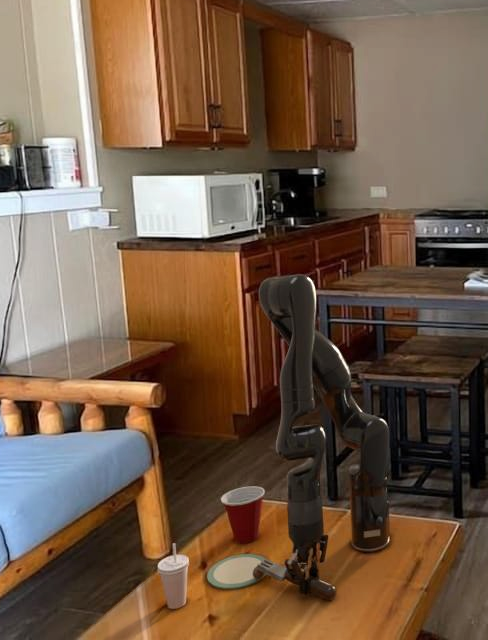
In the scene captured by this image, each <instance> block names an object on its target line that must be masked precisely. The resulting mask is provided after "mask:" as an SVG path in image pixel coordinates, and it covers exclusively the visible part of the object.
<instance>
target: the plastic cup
mask: <svg viewBox="0 0 488 640" xmlns="http://www.w3.org/2000/svg"><path fill="white" fill-rule="evenodd" d="M265 493H266V492H265V488H263V487H261V486H256V485H255V486H254V485H253V486H244V487H238V488H235V489H232V490H230V491H227V492H226V493H224V494H223V495H222V496H221V497H220V502H221V503H222V504H223V506H224V508H225V512H226V514H227V518H228V521H229V526H230V528H231V531H232V535H233V539H234V541H235V542H236V543H238V544H248V543H253V542H254V541H255V540H257V539H258V536H259V532H260V525H261V517H262V507H263V501H264V495H265Z"/></svg>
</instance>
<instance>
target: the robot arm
mask: <svg viewBox="0 0 488 640" xmlns="http://www.w3.org/2000/svg"><path fill="white" fill-rule="evenodd" d="M317 299H318V298H317V289H316V286H315V283H314V281H313V280H312V278H311V277H309V276H308V275H306V274H303V273H294V274H286V275H276V276H275V275H274V276H271V277H267V278H266V279H264V280H263V281H262V282H261V284H260V285H259V289H258V300H259V303H260V306H261V308H262V311H263V312H264V314H265V315H266V317H267V318H268V320H269V321H270V322H271V323H272V325H273V326H274V328H275V329H276V330H277V331H278V332H279V334H280V335H281V336H282V338H283V339H284V341H285V342H286V344H287V345H288V351H287V353H286V356H285V358H284V360H283V363H282V366H281V369H280V373H279V390H280V391H279V393H280V401H281V402H280V403H281V406H280V407H281V412H280V422H279V427H278V431H277V436H276V441H275V452H276V454H277V456H278V458H279V459H280V460H281V461H283V462H295V461H300V460H306V461H305V462H304V463H303V464H301V465H299V466H296V467H294V468H291V469H290V470H289V471H288V472H287V474H286V489H287V490H286V491H287V505H286V511H287V528H288V539H289V540H290V541H291V542H292V544H293V545H292V555H291V556H290V558H286V559H285V560H284V567H286V568H287V570H288V573H289V575H290V577H291V579H292V580H297V581H299V586H298V592H299V594H300V595H303V596H308V595H310V593H311V592H310V585H309V575H311V576H314V577H316V578H318V579H320V569H321V565H322V564H324V563H325V560H326V556H327V555H326V554H327V549H328V542H329V535H328V534H325V528H324V527H325V526H324V508H323V507H324V505H323V499H322V494H321V493H322V492H321V470H322V463H323V459H324V455H325V451H326V447H327V434H326V431H325V429H324V428H323V426H322V425H320V424H317V423H311V424H303V425H297V426H293V425H294V423H295V422H296V420H297V419H299V418H301V417H304V416H307V415H309V414H311V413H313V412H314V411H315V408H316V402H315V401H316V399H315V392H316V393H317V395H318V396H319V398H320V400H321V401H322V403H323V405H324V406H325V408H326V409H327V412H328V414H329V415H330V417H331V420H332V422H333V425H334V427H335V429H336V431H337V433H338V436H339V438H340V440H341V442H342V443H343V445H345V447H346V448H349V449H351V450H353V451H355V452H359V461H357V462H355V463H352V464H351V465H350V467H349V468H348V487H349V509H350V525H351V526H350V530H351V531H350V533H351V546H352V548H353V549H354V550H356V551H358V552H363V553H373V552H376V551H380V550H383V549H385V548H386V547H387V546H388V545H389V543H390V537H391V531H390V530H391V529H390V528H391V527H390V502H389V501H388V481H387V471H388V468H389V465H390V464H389V463H390V441H391V440H390V436H391V435H390V428H389V425H388V423H387V421H386V420H385V419H383V418H381V417H380V416H376V415H373V414H369V413H366V412H364V411H363V410H362V409H361V408H360V407H359V405H358V403H357V402H356V400H355V399H354V396H353V395H352V391H351V390H352V389H351V388H352V373H351V369H350V367H349V364H348V363H347V361H346V359H345V358H344V355H343V354H342V352H341V351H340V349H339V348H338V346H336V344H335V343H333V342H332V340H330V339H329V338H327V337H326V336H324V335H323V333H321V332H320V331H318V330H316V320H317V319H316V318H317V303H318V302H317ZM302 570H303V572H304V573H302V572H301V571H302Z"/></svg>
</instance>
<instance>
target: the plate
mask: <svg viewBox="0 0 488 640" xmlns="http://www.w3.org/2000/svg"><path fill="white" fill-rule="evenodd" d="M264 559H267V558H266V557H264V556H262V555H259V554H254V553H242V554H235V555H232V556H227V557H226V558H224V559H223V558H222V559H221V560H219V561H217V562H216V563H215V564H213V565H212V566H211V567H210V568H209V569H208V571H207V574H206V580H207V582H208V583H209V584H210V585H211V586H212V587H214V588H217V589H220V590H237V589H242V588H246V587H249V586H251V585H253V584H256V583H257V582H258V583H259V581H261V580H262V579H263V578H265V577H266V576H267V575H266V573H265V574H264V576H263V577H262V578H260V579H256V578H254V577H253V570H254V568H255V567H256V566H257V565H258V564H261V562H262V561H263V562H264Z"/></svg>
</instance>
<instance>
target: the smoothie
mask: <svg viewBox="0 0 488 640" xmlns="http://www.w3.org/2000/svg"><path fill="white" fill-rule="evenodd" d="M189 560H190V559H189V557H188V556H187V555H185V554H177V547H176V543H175V542H173V543H172V555H169V556H167V557H164V558H162V559H161V560H160V561H159V562H158V563H157V572H158V574H159V575H160V579H161V585H162V588H163V592H164V595H165V596H164V597H165V602H166V604H167V608H168V609H171V610H175V609H179V608H182V607H184V606H185V605H186V603H187V587H188V567H189V565H190V561H189Z"/></svg>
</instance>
